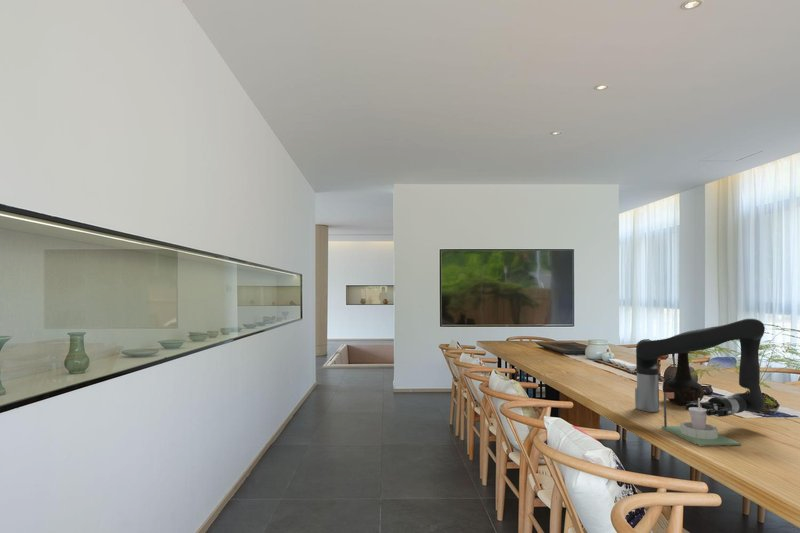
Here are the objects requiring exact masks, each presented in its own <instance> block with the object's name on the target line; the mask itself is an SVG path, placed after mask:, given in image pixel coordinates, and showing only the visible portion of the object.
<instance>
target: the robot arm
mask: <svg viewBox="0 0 800 533" xmlns="http://www.w3.org/2000/svg"><path fill="white" fill-rule="evenodd" d="M765 327H766V326H765V324H764V323H763V322H762V321H761V320H759V319H757V318H752V317H751V318H744V319H741V320H738V321H734V322H733V321H732V322H730V323H727V324H723V325H717V326H715V325H714V326H710V327H706V328H705V327H704V328H698V329H694V330H688V331H685V332H681V333H679V334H676V335H673V336H670V337H667V338H663V339H655V340H654V339H653V340H652V339H649V338H645V339H644V338H643V339H641V340H639V341H638V342H637V343H636V347H635V358H636V387H635V388H634V395H635V396H634V400H635V401H634V402H635V403H634V404H635V405H634V408H635V409H637V410H639V411H642V412H647V413H649V412H650V413H656V412H657V413H659V411H660V388H659V385H660V384H659V383H660V382H659V380H660V378H659V377H660V376H659V358H661V357H666V356H669V355H673V354H678V353H685V352H690V353H691V352H699V351H702V350H707V349H708V350H709V349H712V348H714V347H717V346H719V345H722V344H724V343H727V342H731V341H735V340H739V343H740V361H739V371H738V372H739V373H738V384H739V386H740V387H741V388H744V389H747V390H749V393H746V392H745V393H744V392H743V393H742V392H740V393H734V394H731V395H721V396H715V397H714V396H713V397H710V398H709V399H708V400H707V401H700V407H701V408H704V409H707V416H709V417H710V416H714V417H720V418H721V417H722V418H723V417H728V416H732V415H735V414H740V413H742V412H744V411H748V412H762V411H761V410H762V409H763V410H764V407H765V400H764V397H763V394H762V390H761V385H760V382H761V381H760V376H761V375H760V374H761V373H760V372H761V371H760V370H761V369H760V359H759V352H760V351H759V349H760V345H761V341H762V339H763V337H764V334H765V329H766V328H765ZM690 407H699V406H698V400H697V401H689V402H688V404H686V405H684V408H685V410H686V411H688V410H689V408H690Z"/></svg>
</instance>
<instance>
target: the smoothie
mask: <svg viewBox="0 0 800 533" xmlns="http://www.w3.org/2000/svg"><path fill="white" fill-rule="evenodd" d="M700 402H701V401H700V398H698V406H699V407H690V408H689V410H687V411H688V412H689V416H690V420H691V421H690V422H692V428H693V429H696V430H705V426H706V424H707V416H708V415H707V409H704V408H702V407H701V406H700Z"/></svg>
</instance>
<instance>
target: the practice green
mask: <svg viewBox="0 0 800 533" xmlns="http://www.w3.org/2000/svg"><path fill="white" fill-rule="evenodd" d="M669 398H674V392H672V393H665V392H664V393H663V418H664V419H663V421H664V424H663V425H661V429H663V430H664V431H667V432H669V431H670V432H669V433H671V432H672V433H671V434H673V433H674V435H675V434H676V435H675V436H677V435H678V436H677V437H679V436H680V437H679V438H681V437H682V438H681V439H683V438H685V439H687V440H686V441H688V440H689V441H688V442H690V441H691V442H690V443H692V442H694V443H696V444H698V445H738V446H741V445H742V443H741V442H740V441H739V442H738V441H736V440H734V439H732V438H729V437H727V436H724V435H722V434H719V433H718V432H719V431H718V428H717V427H716V426H713V425H712V424H708V423H706V426H705V430H696V429H693V428H692V422H691V421H684V422H683V421H682V422H681V423H680V425H667V400H669ZM685 439H684V440H685ZM694 443H693V444H694ZM696 444H695V445H696ZM698 445H697V446H698Z"/></svg>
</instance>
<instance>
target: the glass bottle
mask: <svg viewBox="0 0 800 533" xmlns="http://www.w3.org/2000/svg"><path fill="white" fill-rule="evenodd" d="M690 353H691V352H685V353H677V364H676V373H675V376H673V377H672V378H671V377H668V378H666V379H665V380H664V381H663V383H662V393H663V394H664V392H665V393H672V392H674V398H669V399H668V400H669V401H670V402H671V403H673V404H676V405H679V406H685V405H686V404H688V402H689V401H697V400H698V398H700V402H702V400H703V399H704V396H705V390H704V388H703V387H702V385H701V384H700V383H699V382H698V381H696V380H695V379H693V377H692V374H691V370H690V363H689V354H690Z"/></svg>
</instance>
